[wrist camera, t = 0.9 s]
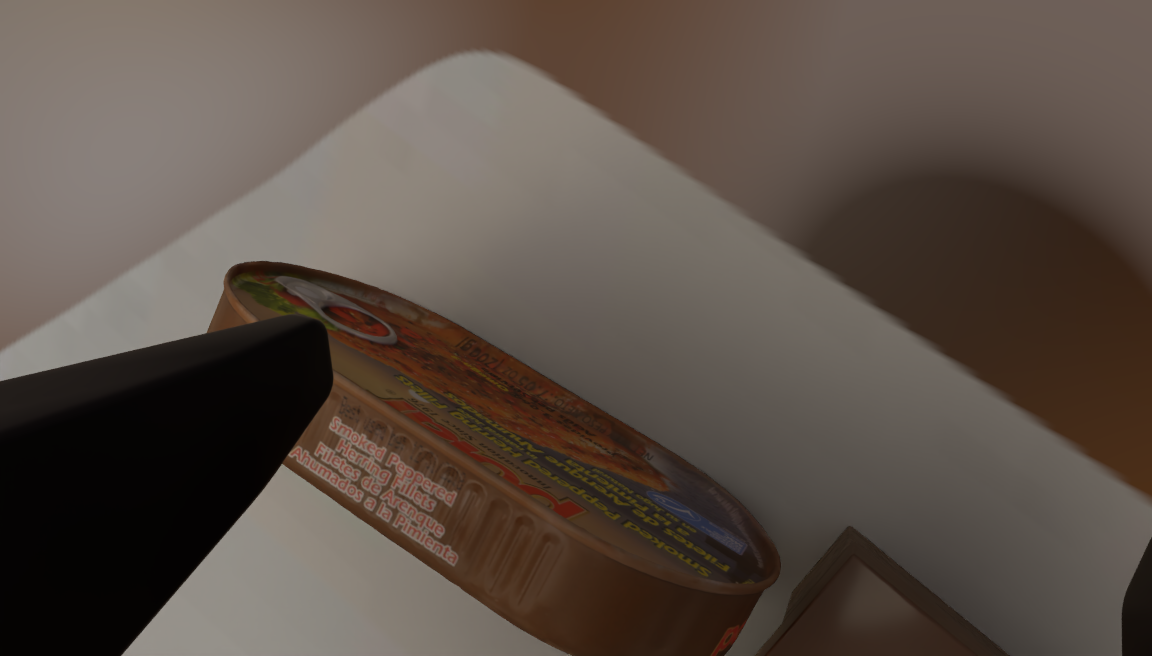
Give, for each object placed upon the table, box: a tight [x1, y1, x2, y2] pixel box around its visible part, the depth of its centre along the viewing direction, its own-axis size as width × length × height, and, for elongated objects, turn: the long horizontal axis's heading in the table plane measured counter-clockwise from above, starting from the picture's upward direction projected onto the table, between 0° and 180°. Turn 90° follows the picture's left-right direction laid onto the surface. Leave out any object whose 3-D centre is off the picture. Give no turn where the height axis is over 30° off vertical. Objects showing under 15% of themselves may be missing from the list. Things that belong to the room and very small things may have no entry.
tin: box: [207, 261, 781, 656], centre depth 21 cm, size 15×3×8 cm, turn 60°
